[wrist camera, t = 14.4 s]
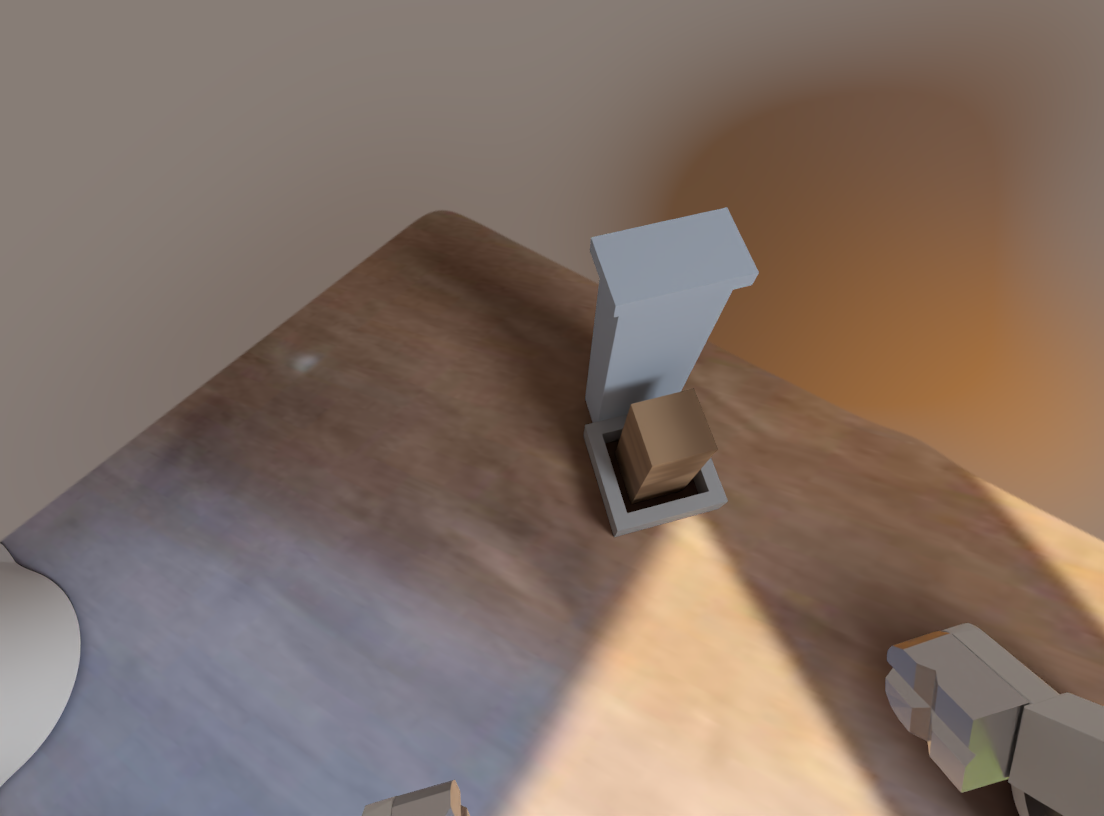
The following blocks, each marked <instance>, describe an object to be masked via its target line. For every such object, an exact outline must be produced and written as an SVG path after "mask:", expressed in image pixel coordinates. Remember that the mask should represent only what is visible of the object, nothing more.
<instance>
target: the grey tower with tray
mask: <svg viewBox="0 0 1104 816" xmlns="http://www.w3.org/2000/svg"><path fill="white" fill-rule="evenodd" d="M590 252H591V255H592V258H593V261H594V264H595V266H596V269H597V272H598V275H599V278H600V281H599V289H598V297H597V305H596V313H595V322H594V330H593V338H592V346H591V355H590V363H589V371H588V379H587V388H586V396H585V400H586V403H587V406H588V409H589V413H590V416H591V419H592V422H593V423H590V424H586V425H585V429H584V439H585V443H586V446H587V449H588V453H589V456H590V459H591V462H592V466H593V469H594V472H595V476H596V479H597V482H598V486H599V489H600V492H601V495H602V499H603V502H604V505H605V509H606V512H607V515H608V519H609V522H610V525H611V528H612V532H613V535H614V537H617V536H620V535H624V534H628V533H631V532H635V531H639V530H642V529H646V528H650V527H653V526H657V525H661V524H664V523H668V522H672V521H675V520H679V519H683V518H686V517H690V516H694V515H697V514H701V513H705V512H708V511H712V510H716V509H719V508H720V507H721V506H723V505H724V504H725V503H726V502H728V500H727V498H726V495H725V493H724V490H723V487H722V485H721V482H720V480H719V477H718V475H717V472H716V469H715V467H714V464H713V462H712V459H711V458H710V459H709V460H708V461H707V462H706V464H705V465H704V466H703V467H702V468H701V469H700V471H699V472H698V473H697V474H696V475H695V476H694V477H693V480H694V483H695V486H696V488H697V491H698V494H697V495H693V496H690V497H686V498H682V499H679V500H675V501H671V502H667V503H664V504H660V505H656V506H653V507H649V508H645V509H641V510H638V511H634V512H630V513H627V511H626V508H625V505H624V502H623V499H622V495H621V492H620V489H619V486H618V483H617V480H616V476H615V473H614V470H613V467H612V464H611V461H610V457H609V454H608V451H607V448H606V445H605V443H609V442H612V441H616V440H620V437H621V433H622V430H623V427H624V424H625V421H626V418H627V415H628V412H629V408H630V405H631V404H633V403H637V402H641V401H645V400H649V399H653V398H657V397H661V396H665V395H669V394H673V393H677V392H681V390H682V388H683V386H684V384H685V382H686V380H687V378H688V376H689V374H690V372H691V371H692V369H693V367H694V365H695V363H696V361H697V359H698V357H699V355H700V353H701V351H702V349H703V347H704V345H705V343H706V341H707V339H708V337H709V335H710V333H711V331H712V329H713V327H714V325H715V324H716V322H717V320H718V318H719V316H720V314H721V312H722V310H723V308H724V306H725V304H726V302H727V300H728V298H729V296H730V294H731V292H732V290H733V289H737V288H741V287H746V286H750V285H752V284H753V282H754V280H755V278H756V277H757V275H758V273H759V272H758V270H757V268H756V266H755V264H754V262H753V260H752V258H751V256H750V254H749V252H748V249H747V248H746V245H745V243H744V241H743V239H742V237H741V235H740V233H739V231H738V229H737V227H736V225H735V223H734V221H733V219H732V217H731V214H730V212H729V211H728V209H727V208H722V209H718V210H713V211H709V212H704V213H700V214H696V215H691V216H686V217H682V218H677V219H673V220H668V221H663V222H659V223H654V224H650V225H646V226H641V227H636V228H632V229H627V230H623V231H618V232H614V233H609V234H605V235H600V236H596V237H591V244H590Z"/></svg>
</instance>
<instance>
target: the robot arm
mask: <svg viewBox="0 0 1104 816" xmlns="http://www.w3.org/2000/svg"><path fill="white" fill-rule="evenodd" d="M80 646H81V641H80V630H79V624H78V620H77V616H76V613H75V611H74V608H73V606H72V604H71V602H70V600H69V599H68V597H67V596H66V594H65V593H64V592H63V591H62V590H61V589H60V588H59V587H58V586H57V585H56V584H55V583H54V582H52V581H51V580H50V579H48V578H46V577H45V576H43V575H41V574H38V573H36V572H33V571H31V570H28V569H26V568H24V567H22V566H20V565H19V564H17V563H16V562H15V561H14V559H13V558H12V556H11V555H10V553H9V552H8V551H7V549H6V548H5V547H4V546H3V545H2V544H1V543H0V787H1V786H2V785H3V784H4V783H5V782H6V780H8V779H9V778H10V777H11V776H12V775H13V774H14V773H15V772H16V771H17V770H18V769H19V768H20V767H21V766H22V765H23V764H25V763H26V762H27V760H28V759H29V758H30V757H31V756H32V755H33V754H34V753H35V752H36V751H37V749H38V748H39V747H40V746H41V745H42V743H43V742H44V741H45V739H46V738H47V737H48V735H49V734H50V732H51V731H52V729H53V728H54V726H55V725H56V723H57V721H58V720H59V718H60V716H61V714H62V712H63V710H64V708H65V706H66V704H67V702H68V699H69V697H70V695H71V692H72V689H73V686H74V683H75V679H76V676H77V671H78V667H79V660H80ZM887 661H888V663H889V664H890V665H891V666H892V667H893V668H892V670H891V671H890V673H889V674H888V675H887V677H886V678H885V692H886V695H887V697H888V700H889V703H890V705H891V708H892V709H893V711H894V712H895V714H896V716H897V717H898V719H899V720H900V721H901V723H902V724H903V725H904V726H905V727H906V729H907V730H908V731H909V732H910V733H912V734H914V735H916V736H918V737H920V738H922V739H924V740H926V741H927V742H928V749H929V756H930V757H931V758H932V759H933V761H934V762H935V763H936V764H937V765H938V766H939V768H940V769H941V770H942V771H943V772H944V773H945V775H946V776H947V777H948V778H949V779H950V780H951V782H952V783H953V784H954V785H955V786H956V787H957V789H958V790H959V791H960V792H961V793H963V792H966V791H969V790H973V789H976V788H980V787H983V786H986V785H990V784H993V783H996V782H1000V781H1003V780H1007V779H1009V780H1008V783H1010V784H1012V785H1013V786H1015V787H1017V788H1018V789H1020V790H1022V791H1023V792H1025V793H1027V794H1028V795H1030V796H1032V797H1033V798H1035V799H1037V800H1038V801H1040V802H1041V803H1043V804H1045V805H1046V806H1048V807H1050V808H1051V809H1053V810H1055V811H1056V812H1058V813H1060V814H1061V815H1063V816H1104V706H1101V705H1099V704H1096V703H1094V702H1091V701H1089V700H1086V699H1084V698H1081V697H1078V696H1076V695H1073V694H1071V693H1068V692H1067V693H1063V694H1059V693H1057V692H1056V691H1055V690H1054V689H1053V688H1051V687H1050V686H1049V685H1048V684H1046V683H1045V682H1044V681H1043V680H1042V679H1040V678H1039V677H1038V676H1037V675H1036V674H1034V673H1033V672H1032V671H1031V670H1029V669H1028V668H1027V667H1026V666H1025V665H1023V664H1022V663H1021V662H1020V661H1018V660H1017V659H1016V658H1015V657H1014V656H1012V655H1011V654H1010V653H1009V652H1008V651H1006V650H1005V649H1004V648H1003V647H1001V646H1000V645H999V644H998V643H997V642H995V641H994V640H993V639H992V638H991V637H989V636H988V635H987V634H986V633H984V632H983V631H982V630H981V629H980V628H978V627H977V626H975V625H972V624H970V623H964V624H960V625H957V626H954V627H951V628H948V629H945V630H942V631H935V632H932V633H929V634H926V635H923V636H920V637H917V638H914V639H911V640H908V641H904V642H901V643H898V644H895V645H892V646H891V647H890V648H889V650H888V652H887ZM362 816H470V815H469V812H468V810H467V808H466V807H464V806H462V805H461V802H460V790H459V788H458V786H457V783H456V781H455V780H452V781H448V782H445V783H441V784H438V785H434V786H431V787H428V788H424V789H421V790H417V791H414V792H410V793H407V794H403V795H400V796H395V797H392V798H388V799H385V800H382V801H379V802H375V803H372V804H369V805H366V806H365V809H364V811H363V814H362Z"/></svg>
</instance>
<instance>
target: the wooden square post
mask: <svg viewBox="0 0 1104 816" xmlns="http://www.w3.org/2000/svg"><path fill="white" fill-rule="evenodd" d="M717 450H718V448H717V445H716V443H715V440H714V438H713V435H712V433H711V430H710V428H709V425H708V423H707V420H706V418H705V415H704V413H703V410H702V408H701V405H700V402H699V400H698V397H697V395H696V392H695V390H694V388H693V389H689V390H685V391H681V392H677V393H673V394H669V395H665V396H661V397H657V398H653V399H649V400H645V401H641V402H637V403H633V404H631V405H630V408H629V412H628V415H627V418H626V421H625V424H624V427H623V430H622V433H621V437H620V440H619V443H618V446H617V449H616V452H615V456H616V459H617V463H618V466H619V469H620V472H621V475H622V478H623V481H624V484H625V487H626V491H627V494H628V497H629V500H630V503H631V504H634V503H638V502H641V501H645V500H649V499H653V498H656V497H660V496H664V495H668V494H671V493H675V492H679V491H682V490H683V489H684V488H685V487H686V486H687V484H688V483H689V482H690V481H691V480H692V479H693V477H694V476H695V475H696V474H697V473H698V472H699V471H700V469H701V468H702V467H703V466H704V465H705V464H706V462H707V461H708V460H709V459H710V458H711V457H712V456H713V454H714V453H715V452H716V451H717Z"/></svg>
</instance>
